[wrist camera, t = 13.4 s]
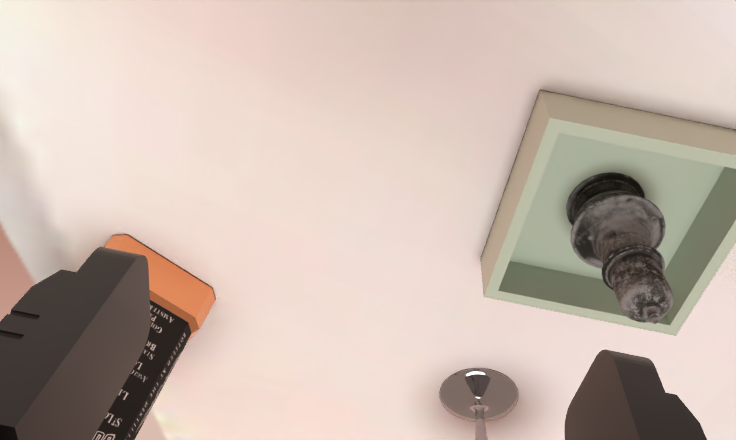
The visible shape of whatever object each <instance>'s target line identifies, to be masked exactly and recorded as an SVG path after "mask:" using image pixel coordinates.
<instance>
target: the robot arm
mask: <svg viewBox="0 0 736 440" xmlns="http://www.w3.org/2000/svg"><path fill="white" fill-rule="evenodd" d="M150 323H151V313H150V291H149V268H148V260H147V258H146V256H144V255H140V254H135V253H130V252H126V251H121V250H116V249H111V248H106V247H99V248H97V249H96V250H95V251H94V252H93V253H92V254H91V256H90V257H89V258H88V259H87V260H86V262H85V263H84V264H83V265H82V266H81V268H80V269H79V270H78V271H77V272H71V271H66V270H60V271H58V272H57V273H55V274H53V275H52V276H50V277H48V278H46V279H45V280H43V281H41V282H39V283H38V284H36V285H34V286H32V287H31V288H30V290H29V291H28V292H27V293H26V294H25V295H24V296H23V297H22V298H21V300H19V302H18V303H17V304H16V305H15V306H14V307H13V308H12V309H11V313H10V315H8V314H7V315H6V316H5V317H4V318H3V319H2V320H1V322H0V440H92V439H93V437H94V435H95V434H96V432H97V430H98V428H99V427H100V425H101V423H102V421H103V420H104V418H105V416H106V415H107V413H108V411H109V409H110V408H111V406H112V404H113V402H114V401H115V399H116V397H117V395H118V394H119V392H120V390H121V389H122V387H123V385H124V383H125V382H126V380H127V378H128V376H129V375H130V373H131V371H132V370H133V368H134V366H135V364H136V363H137V361H138V359H139V357H140V356H141V354H142V352H143V350H144V347H145V345H146V342H147V339H148V335H149V330H150ZM565 440H707V439H706V437H705V434H704V432H703V430H702V427H701V425H700V423H699V422H698V420H697V419H696V418H695V417H694V416H693V414H692V413H691V412H690V411H689V409H688V408H687V407H686V406H685V405H684V403H683V402H682V401H681V400H680V399H679V397H678V396H677V395H674V394H669V393H665V391H664V388H663V386H662V383H661V381H660V378H659V376H658V373H657V371H656V368H655V366H654V364H653V363H652V361H651V360H650V359H648V358H644V357H639V356H634V355H629V354H624V353H619V352H614V351H609V350H602V351H601V352H599V354H598V355H597V356H596V358H595V360H594V362H593V363H592V365H591V367H590V369H589V371H588V372H587V374H586V376H585V378H584V380H583V381H582V383H581V385H580V387H579V389H578V391H577V392H576V394H575V396H574V398H573V400H572V401H571V403H570V405H569V408H568V411H567V415H566V420H565Z"/></svg>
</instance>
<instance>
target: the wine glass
mask: <svg viewBox="0 0 736 440" xmlns="http://www.w3.org/2000/svg"><path fill="white" fill-rule="evenodd" d="M439 395H440V400H441V403H442V404H443V406H444V407H445V409H446V410H447V411H448V412H450V413H451V414H453V415H454V416H456V417H458V418H461V419H464V420H468V421H475V422H476V432H475V440H488V438H487V433H486V427H485V421H492V420H496V419H498V418H501V417H503V416H505V415H507V414H508V413H509V412H511V411H512V410H513V408H514V407H515V405H516V404H517V401H518V389H517V387H516V385H515V384H514V382H513V381H512V380H511V379H510V378H508V377H507V376H505V375H504V374H502V373H500V372H497V371H494V370H490V369H484V368H472V369H466V370H462V371H459V372H457V373H455V374H453V375H451V376H450V377H448V378H447V379H446V380H445V381H444V383H443V384H442V386H441V388H440V392H439Z"/></svg>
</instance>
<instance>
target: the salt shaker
mask: <svg viewBox="0 0 736 440" xmlns="http://www.w3.org/2000/svg"><path fill="white" fill-rule="evenodd" d="M566 214H567V217H568V220H569V222H570V223H571V225H572V226H573V227H572V230H571V244H572V247H573V250H574V252H575V253H576V255H577V256H578V257H579V258H580V259H581V260H582V261H584V262H585V263H587V264H588V265H591V266H593V267H596V268H600V269H602V273H601V275H602V278H603V281H604V283H605V284H606V285H607V286H608V287H609V288H610V289H612V290H614V292H615V295H616V297H617V300H618V303H619V306H620V308H621V310H622V311H623V313H624V314H625V315H626V316H627V317H628V318H630V319H631V320H634V321H637V322H643V323H646V322H650V323H653V324H657V323H658V322H659V320H660V319H661V318H662V317H664V316H665V315H666V314H667V313H668V312H669V311H670V309H671V307H672V305H673V301H674V298H673V293H672V290H671V288H670V286H669V284H668V282H667V280H666V278H665V276H664V274H663V273H664V271H665V261H664V258H663V257H662V255H661V254H660V252H658V251H657V250H656V249H657V248H658V247H659V246H660V244H661V242H662V240H663V238H664V236H665V228H666V224H665V220H664V216H663V214H662V213H661V211H660V210H659V208H658V207H657V206H656V205H655V204H653V203H652V202H651V201H649V200H647V199H646V198H645V194H644V190H643V189H642V187H641V186H640V184H639V183H638V182H637V181H636V180H634V179H633V178H632V177H630V176H627V175H625V174H621V173H614V172H610V173H601V174H598V175H594V176H591V177H589V178H588V179H586V180H584V181H582V182H581V183H580V184H579V185H578V186H577V187H575V188H574V190H573V191H572V193H571V194H570V196H569V198H568V201H567V204H566Z"/></svg>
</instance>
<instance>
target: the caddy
mask: <svg viewBox="0 0 736 440" xmlns="http://www.w3.org/2000/svg"><path fill="white" fill-rule="evenodd" d="M610 172H614V173H621V174H625V175H627V176H630V177H632V178H633V179H634V180H636V181H637V182H638V183H639V184H640V186H641V187H642V189H643V190H644V194H645V198H646V199H647V200H649V201H651V202H652V203H653V204H655V205H656V206H657V207H658V208H659V210H660V211H661V213H662V214H663V216H664V220H665V224H666V228H665V236H664V238H663V240H662V242H661V244H660V246H659V247H658V248H657V249H656V250H657V251H658V252H660V254H661V255H662V257H663V258H664V261H665V271H664V273H663V274H664V276H665V278H666V280H667V282H668V284H669V286H670V288H671V290H672V293H673V298H674V301H673V305H672V307H671V309H670V311H669V312H668V313H667V314H666V315H665V316H664V317H662V318H661V319H660V320H659V322H658V323H657V324H653V323H650V322H646V323H643V322H637V321H634V320H631V319H630V318H628V317H627V316H626V315H625V314H624V313H623V311H622V310H621V308H620V306H619V303H618V300H617V297H616V295H615V292H614V290H612V289H610V288H609V287H608V286H607V285H606V284H605V283H604V281H603V278H602V275H601V273H602V269H600V268H596V267H593V266H591V265H588V264H587V263H585V262H584V261H582V260H581V259H580V258H579V257H578V256H577V255H576V253H575V252H574V250H573V247H572V244H571V230H572V227H573V226H572V225H571V223H570V222H569V220H568V217H567V214H566V204H567V201H568V198H569V196H570V194H571V193H572V191H573V190H574V188H575V187H577V186H578V185H579V184H580V183H581V182H582V181H584V180H586V179H588V178H589V177H591V176H594V175H598V174H601V173H610ZM735 243H736V130H734V129H729V128H724V127H719V126H714V125H709V124H704V123H699V122H694V121H689V120H685V119H680V118H675V117H670V116H665V115H660V114H655V113H650V112H645V111H640V110H636V109H631V108H626V107H621V106H616V105H611V104H606V103H601V102H596V101H591V100H587V99H582V98H577V97H572V96H567V95H562V94H557V93H552V92H547V91H542V90H539V93H538V96H537V99H536V102H535V105H534V108H533V110H532V113H531V116H530V119H529V122H528V125H527V128H526V130H525V133H524V136H523V139H522V142H521V145H520V148H519V151H518V153H517V156H516V159H515V162H514V165H513V168H512V171H511V173H510V176H509V179H508V182H507V185H506V188H505V191H504V193H503V196H502V199H501V202H500V205H499V208H498V211H497V213H496V216H495V219H494V222H493V225H492V228H491V231H490V233H489V236H488V239H487V242H486V245H485V248H484V251H483V253H482V256H481V270H482V282H483V293H484V297H487V298H492V299H497V300H502V301H507V302H511V303H516V304H521V305H526V306H531V307H536V308H541V309H546V310H551V311H556V312H561V313H566V314H571V315H576V316H581V317H586V318H591V319H596V320H601V321H606V322H611V323H616V324H621V325H625V326H630V327H635V328H640V329H645V330H650V331H655V332H660V333H665V334H670V335H675V336H676V335H677V333H678V332H679V330H680V329H681V327H682V325H683V324H684V322H685V321H686V319H687V318H688V316H689V314H690V313H691V311H692V310H693V308H694V307H695V305H696V304H697V302H698V300H699V299H700V297H701V296H702V294H703V293H704V291H705V289H706V288H707V286H708V285H709V283H710V282H711V280H712V279H713V277H714V275H715V274H716V272H717V271H718V269H719V268H720V266H721V264H722V263H723V261H724V260H725V258H726V257H727V255H728V254H729V252H730V250H731V249H732V247H733V246H734V244H735Z"/></svg>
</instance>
